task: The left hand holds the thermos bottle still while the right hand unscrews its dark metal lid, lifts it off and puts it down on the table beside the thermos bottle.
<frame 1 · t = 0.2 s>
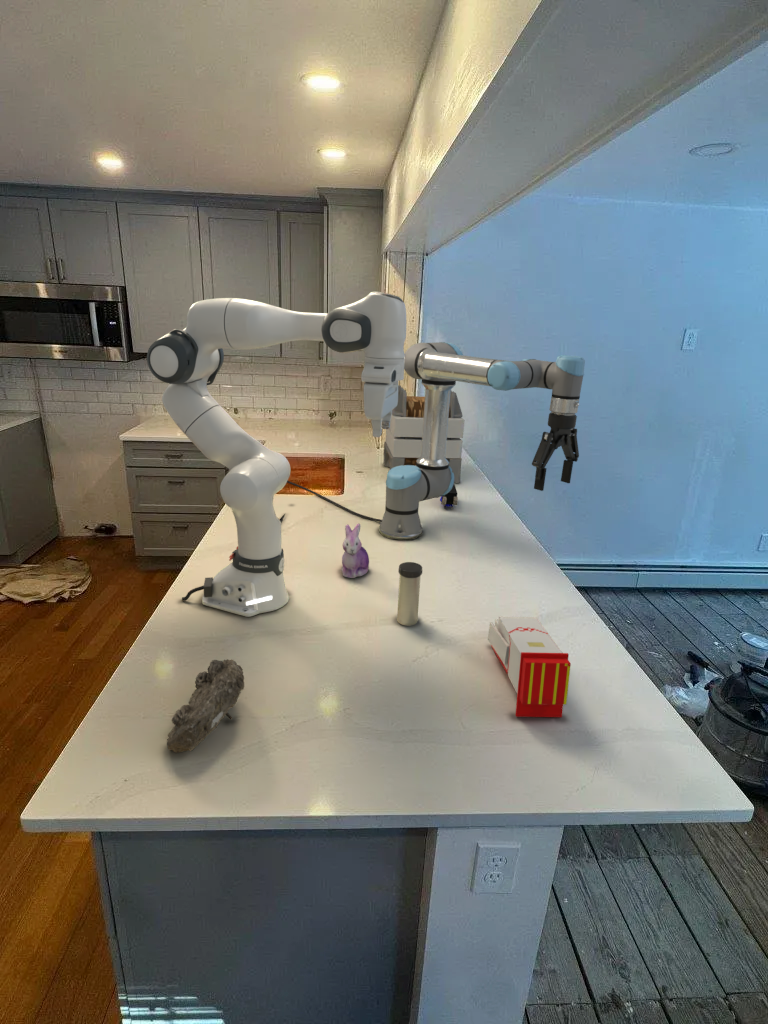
left hand: (381, 432, 130), 48 cm above the counter, tool pointing down, fingers open, 8 cm apart
right hand: (552, 485, 166), 28 cm above the counter, tool pointing down, fingers open, 13 cm apart
transformer: (419, 473, 275), on the counter
figurine: (354, 572, 170), on the counter
fossil: (212, 717, 108), on the counter
toy: (520, 675, 125), on the counter
figurine character: (447, 505, 232), on the counter
feather: (283, 517, 211), on the counter
thermos bottle: (407, 620, 145), on the counter
lid: (410, 568, 140), point 15 cm above the counter, screwed on, not yet turned
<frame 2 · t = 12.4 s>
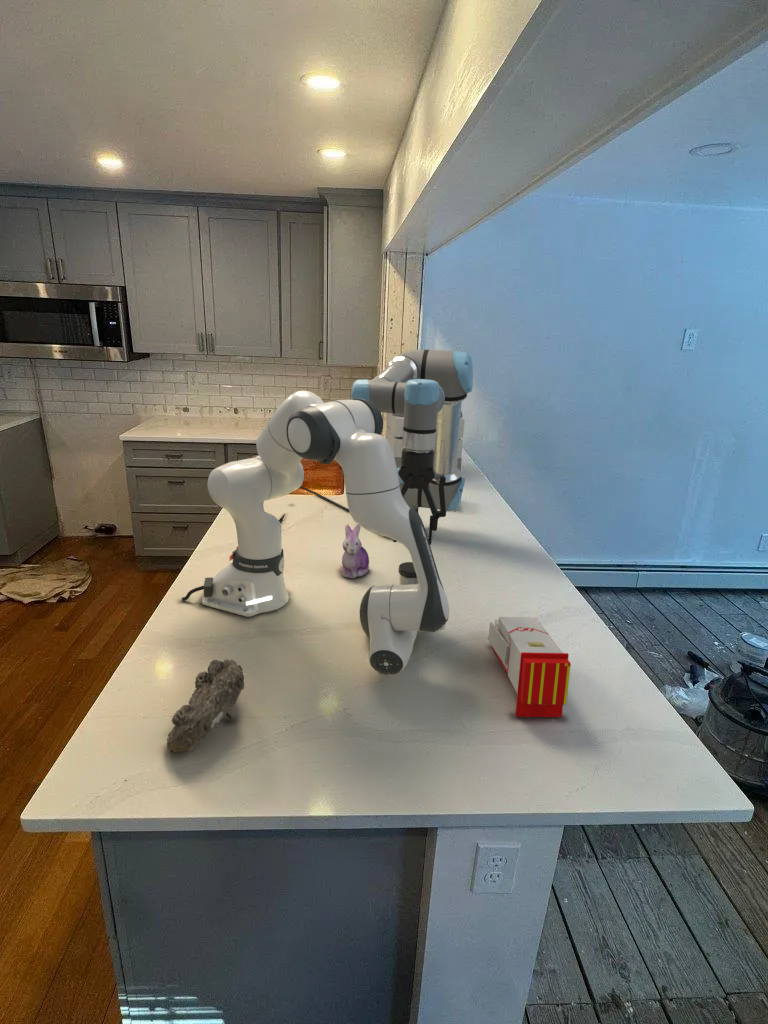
left hand: (409, 596, 143), 6 cm above the counter, tool horizontal, fingers closed on thermos bottle, 5 cm apart
right hand: (412, 541, 137), 22 cm above the counter, tool pointing down, fingers open, 8 cm apart
thermos bottle: (407, 620, 145), on the counter, touching left hand
everything else where it was.
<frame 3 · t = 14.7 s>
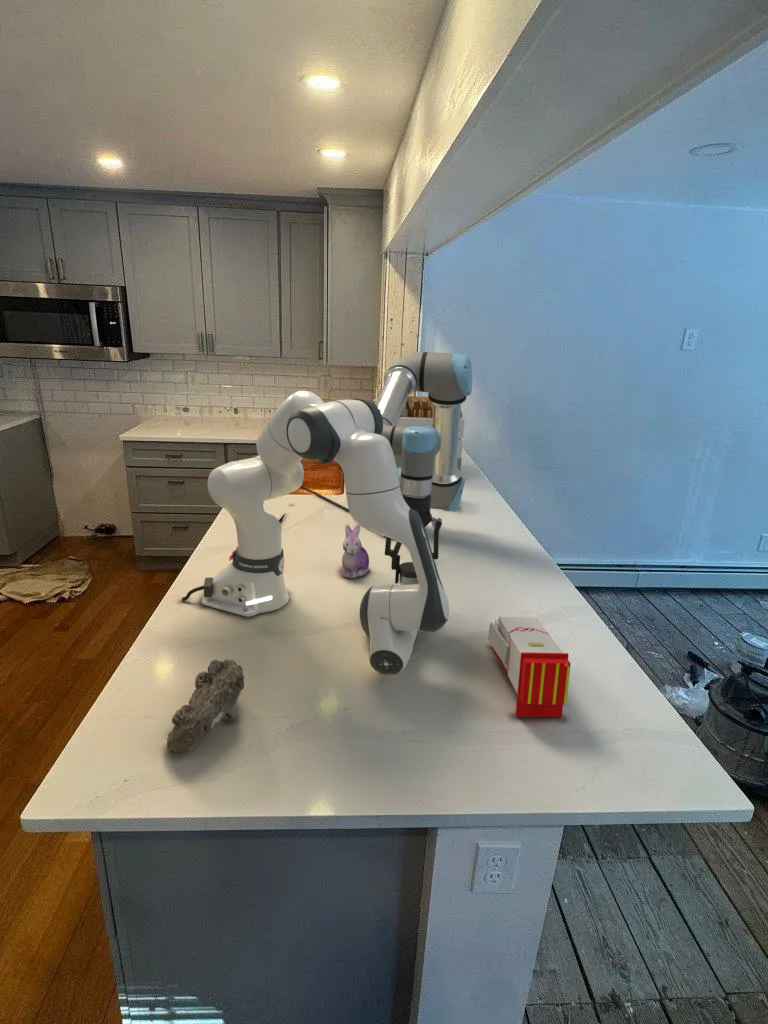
left hand: (409, 596, 143), 6 cm above the counter, tool horizontal, fingers closed on thermos bottle, 5 cm apart
right hand: (409, 582, 141), 11 cm above the counter, tool pointing down, fingers closed on lid, 6 cm apart
thermos bottle: (407, 620, 145), on the counter, touching left hand
lid: (410, 568, 140), point 15 cm above the counter, screwed on, not yet turned, touching right hand
everything else where it was.
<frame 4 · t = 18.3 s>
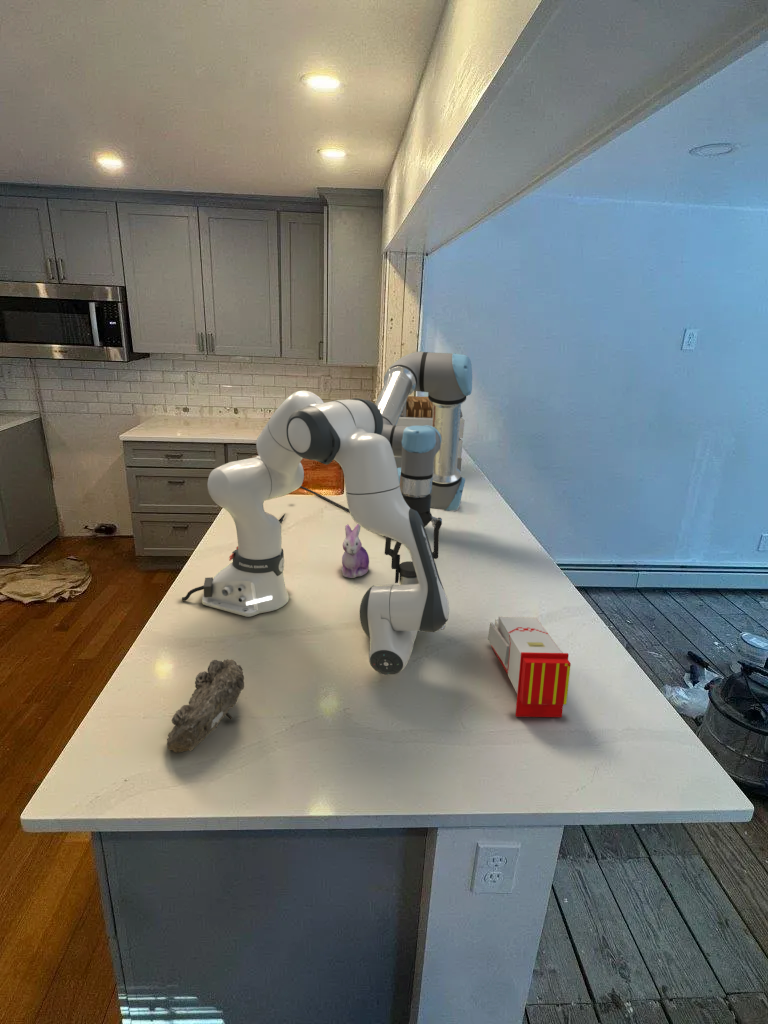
left hand: (409, 596, 143), 6 cm above the counter, tool horizontal, fingers closed on thermos bottle, 5 cm apart
right hand: (409, 581, 141), 11 cm above the counter, tool pointing down, fingers closed on lid, 6 cm apart
thermos bottle: (407, 620, 145), on the counter, touching left hand
lid: (410, 567, 140), point 15 cm above the counter, turned 131° so far, risen 0.2 cm, still on its thread, touching right hand
everything else where it was.
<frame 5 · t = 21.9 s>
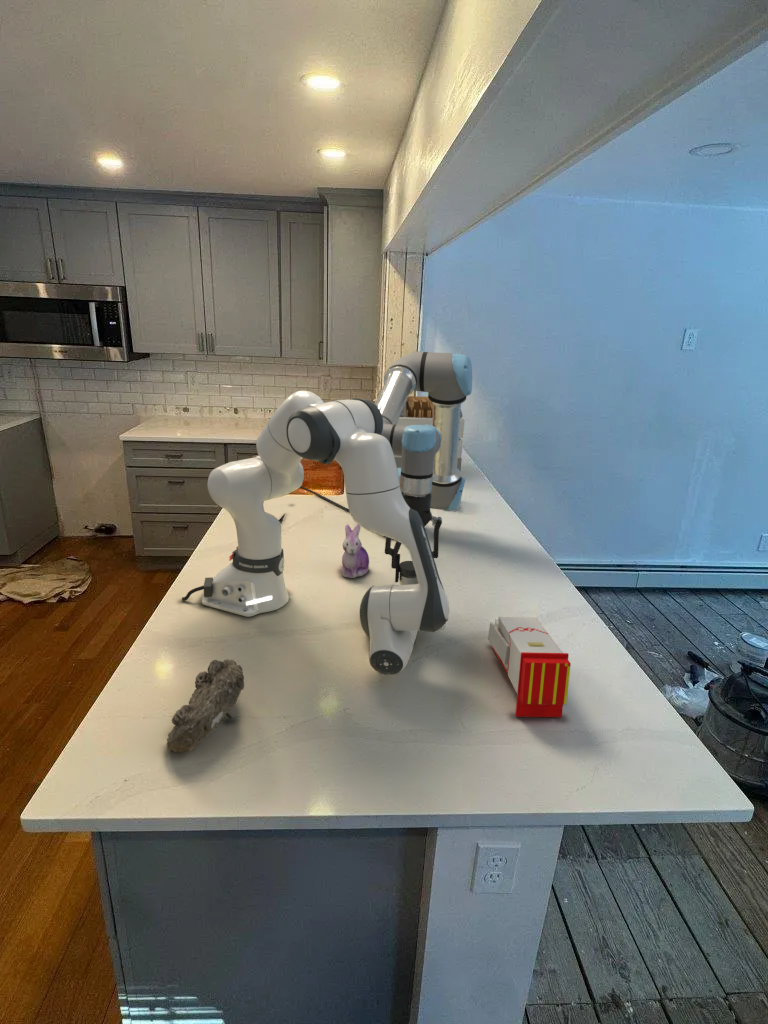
left hand: (409, 596, 143), 6 cm above the counter, tool horizontal, fingers closed on thermos bottle, 5 cm apart
right hand: (409, 580, 141), 11 cm above the counter, tool pointing down, fingers closed on lid, 6 cm apart
thermos bottle: (407, 620, 145), on the counter, touching left hand
lid: (410, 566, 140), point 15 cm above the counter, turned 263° so far, risen 0.4 cm, still on its thread, touching right hand
everything else where it was.
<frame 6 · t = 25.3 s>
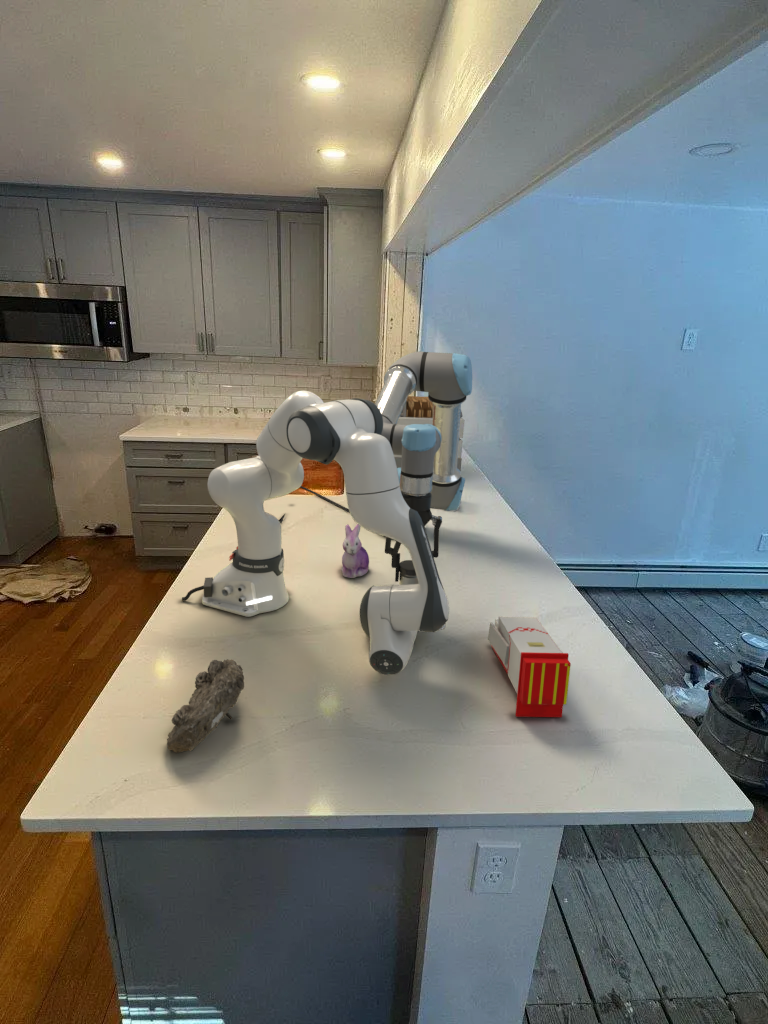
left hand: (409, 596, 143), 6 cm above the counter, tool horizontal, fingers closed on thermos bottle, 5 cm apart
right hand: (409, 580, 141), 11 cm above the counter, tool pointing down, fingers closed on lid, 6 cm apart
thermos bottle: (407, 620, 145), on the counter, touching left hand
lid: (410, 566, 139), point 15 cm above the counter, turned 394° so far, risen 0.5 cm, still on its thread, touching right hand
everything else where it was.
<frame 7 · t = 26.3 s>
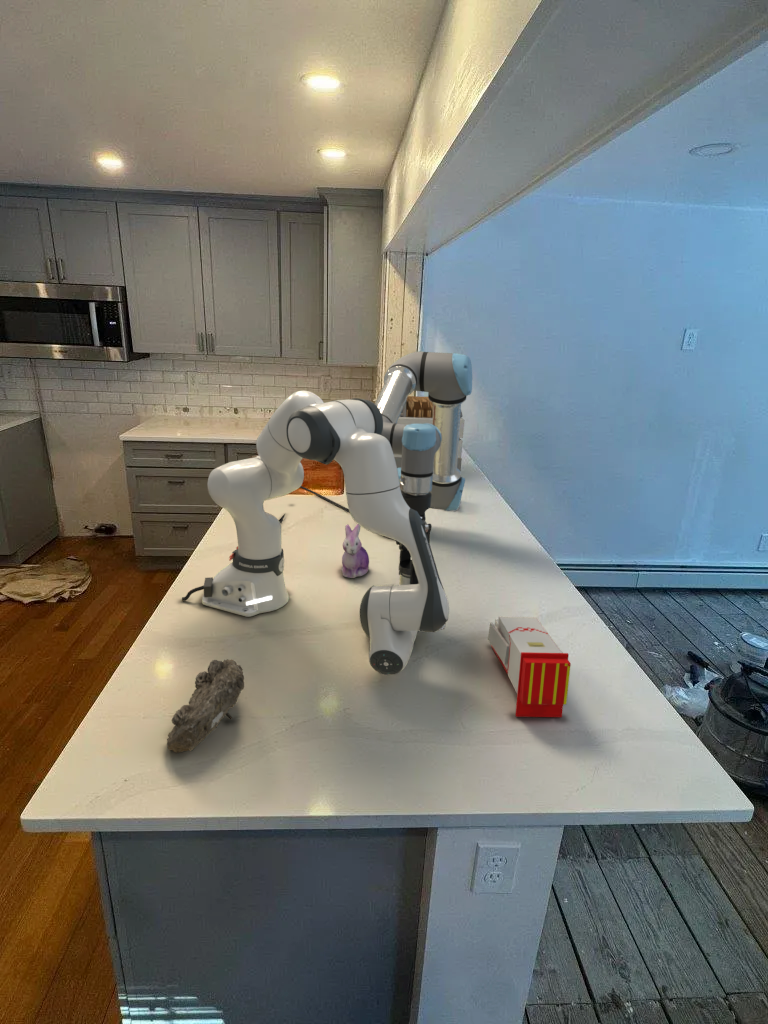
left hand: (409, 596, 143), 6 cm above the counter, tool horizontal, fingers closed on thermos bottle, 5 cm apart
right hand: (409, 579, 141), 12 cm above the counter, tool pointing down, fingers closed on lid, 6 cm apart
thermos bottle: (407, 620, 145), on the counter, touching left hand
lid: (410, 565, 139), point 15 cm above the counter, off its thread, touching right hand
everything else where it was.
when the right hand's fingers open (0 cm above the counter, at t = 31.0 s): lid drops 3 cm, point 1 cm above the counter.
when the left hand's fingers open (6 cm above the counter, at t = 32.2 s): thermos bottle stays where it is, on the counter.
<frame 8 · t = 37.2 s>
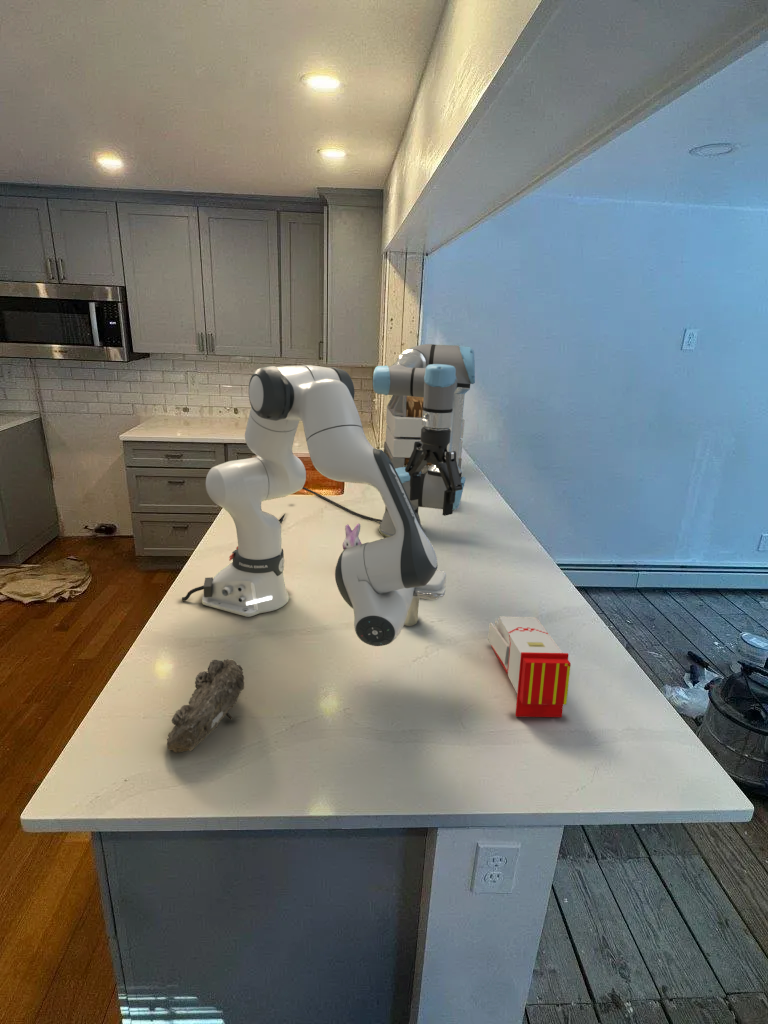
left hand: (403, 563, 126), 21 cm above the counter, tool horizontal, fingers open, 8 cm apart
right hand: (430, 506, 150), 26 cm above the counter, tool pointing down, fingers open, 13 cm apart
thermos bottle: (407, 620, 145), on the counter
lid: (424, 589, 158), point 1 cm above the counter, off its thread
everything else where it was.
at the end: lid came off its thread; lid point 1.2 cm above the counter; the left hand is holding nothing; the right hand is holding nothing; thermos bottle tilted 0°; thermos bottle moved 0.0 cm from its start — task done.
